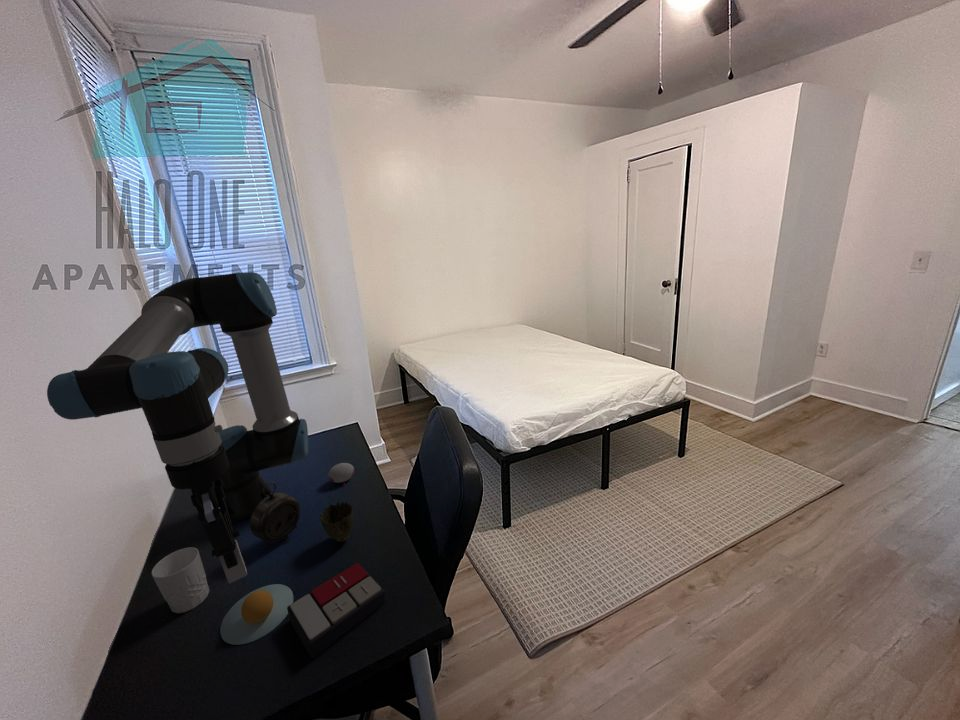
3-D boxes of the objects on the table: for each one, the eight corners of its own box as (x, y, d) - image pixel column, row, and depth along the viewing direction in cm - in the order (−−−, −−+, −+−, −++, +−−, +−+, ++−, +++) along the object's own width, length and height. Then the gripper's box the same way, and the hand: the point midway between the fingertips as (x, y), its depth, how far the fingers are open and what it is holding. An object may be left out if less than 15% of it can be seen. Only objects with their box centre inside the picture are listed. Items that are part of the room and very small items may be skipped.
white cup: (177, 622, 77) (160, 583, 74) (161, 606, 82) (144, 568, 79) (219, 592, 84) (205, 554, 81) (202, 578, 88) (188, 542, 85)
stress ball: (355, 482, 124) (350, 462, 126) (358, 479, 118) (352, 458, 119) (330, 490, 121) (326, 469, 123) (331, 488, 114) (326, 466, 116)
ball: (237, 628, 71) (241, 625, 76) (271, 620, 73) (273, 618, 78) (240, 593, 74) (244, 593, 78) (273, 587, 76) (275, 587, 80)
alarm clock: (296, 522, 103) (281, 469, 99) (309, 527, 101) (294, 473, 96) (256, 550, 95) (238, 494, 90) (269, 558, 92) (251, 499, 87)
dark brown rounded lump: (348, 551, 91) (341, 523, 89) (320, 548, 93) (313, 521, 91) (363, 528, 98) (357, 502, 96) (337, 526, 100) (330, 500, 98)
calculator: (385, 587, 77) (307, 641, 67) (387, 605, 78) (312, 660, 68) (358, 559, 84) (285, 603, 74) (361, 575, 86) (289, 621, 75)
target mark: (213, 615, 78) (213, 614, 78) (281, 574, 87) (280, 574, 86) (229, 659, 69) (229, 659, 69) (303, 609, 77) (302, 608, 77)
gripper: (224, 461, 56) (267, 590, 62) (221, 431, 66) (258, 543, 73) (159, 483, 52) (212, 617, 59) (167, 446, 62) (211, 564, 69)
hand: (237, 576), depth 66 cm, fingers closed
